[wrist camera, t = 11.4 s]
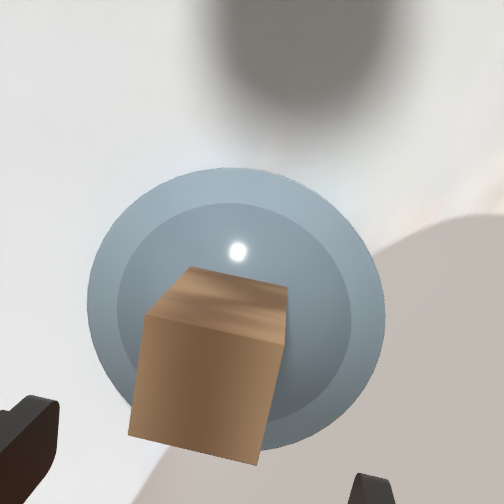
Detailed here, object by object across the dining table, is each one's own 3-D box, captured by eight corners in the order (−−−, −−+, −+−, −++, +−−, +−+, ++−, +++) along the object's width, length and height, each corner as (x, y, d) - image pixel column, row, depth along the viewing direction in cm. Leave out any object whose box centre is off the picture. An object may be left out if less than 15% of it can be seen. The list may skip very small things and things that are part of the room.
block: (287, 287, 19) (284, 345, 13) (267, 375, 20) (256, 465, 14) (190, 266, 19) (144, 314, 13) (175, 354, 20) (127, 435, 14)
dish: (415, 200, 19) (424, 203, 17) (341, 462, 22) (343, 480, 21) (114, 140, 19) (102, 139, 18) (86, 402, 23) (74, 416, 21)
